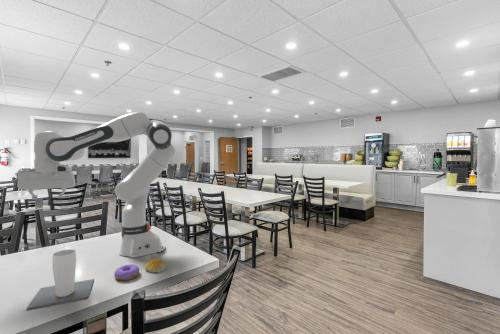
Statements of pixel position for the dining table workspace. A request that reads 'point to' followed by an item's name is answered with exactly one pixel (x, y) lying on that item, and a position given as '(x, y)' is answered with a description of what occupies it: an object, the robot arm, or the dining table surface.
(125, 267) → the donut
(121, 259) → the dining table surface
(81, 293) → the rubber mat
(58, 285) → the drinking glass
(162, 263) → the bread roll
